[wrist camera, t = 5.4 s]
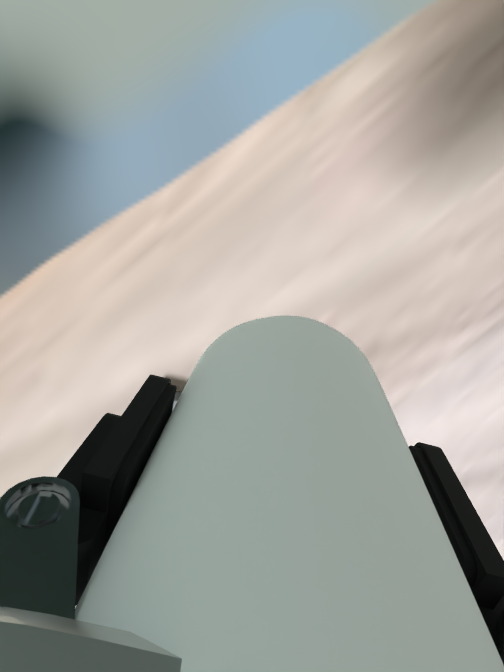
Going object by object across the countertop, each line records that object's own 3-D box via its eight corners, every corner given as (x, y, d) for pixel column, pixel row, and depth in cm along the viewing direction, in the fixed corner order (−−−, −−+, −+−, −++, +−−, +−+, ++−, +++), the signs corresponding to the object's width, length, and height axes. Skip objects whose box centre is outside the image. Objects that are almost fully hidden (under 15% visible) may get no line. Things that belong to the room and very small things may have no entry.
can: (388, 311, 13) (1122, 1320, 2) (369, 477, 15) (598, 1344, 4) (184, 308, 13) (-387, 1037, 2) (197, 469, 16) (-35, 1208, 4)
